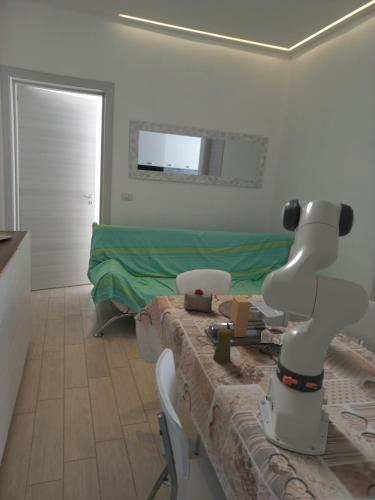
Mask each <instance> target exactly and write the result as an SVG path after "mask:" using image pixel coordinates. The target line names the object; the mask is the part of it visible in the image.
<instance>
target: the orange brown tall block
mask: <svg viewBox="0 0 375 500" xmlns="http://www.w3.org/2000/svg"><path fill="white" fill-rule="evenodd" d="M250 304H251V302H250V301H249V300H248V298H247V297H245V296H232V306H231V314H230V319H229V321H228V323H234V324H235V326H234V331H232V334H233V336H234V337H246V332H247V325H248V318H249V311H250Z"/></svg>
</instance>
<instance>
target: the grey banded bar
mask: <svg viewBox="0 0 375 500" xmlns="http://www.w3.org/2000/svg"><path fill="white" fill-rule="evenodd" d="M234 326H235V324H234V323H229V322H221V323H219V322H218V323H217V322H216V323H215V322H214V323H211V324H210V325H209V326H208V329H209V332H208V333H209V335H210V336H211V337H212V338H216V337H218V336H217V333H218V330H219V329H221V328H227V329H229V330H231V331H234ZM265 329H267V330H268V327H267V326H266V324H265V323H264V322H258V323H248V325H247V330H257V331H256V332H257V333H258V334H259V335H260V336H261V332H262V331H263V330H265Z"/></svg>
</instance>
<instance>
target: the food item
mask: <svg viewBox="0 0 375 500" xmlns="http://www.w3.org/2000/svg"><path fill="white" fill-rule="evenodd" d="M212 302H213V293H211V292H210V293H208V292H204V291H203V290H201V288H197V289H195V290H194V291H190V290H189V291H188V290H186V292H184V297H183V309H184V311H196V312H203V313H212V308H213V307H212V304H213V303H212Z"/></svg>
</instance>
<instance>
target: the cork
mask: <svg viewBox="0 0 375 500" xmlns="http://www.w3.org/2000/svg"><path fill="white" fill-rule="evenodd" d="M217 336H218V342H217V345H215V346H216V347H215V350H214V353H213V357H212V360H213V361H214V362H216V363H217V364H221V365H227V364H230V363H231V361H232V360H231V345H230V340H231V339H232V336H233V334H232V331H231V330H229V329H227V328H221V329H219V330H218V333H217Z"/></svg>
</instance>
